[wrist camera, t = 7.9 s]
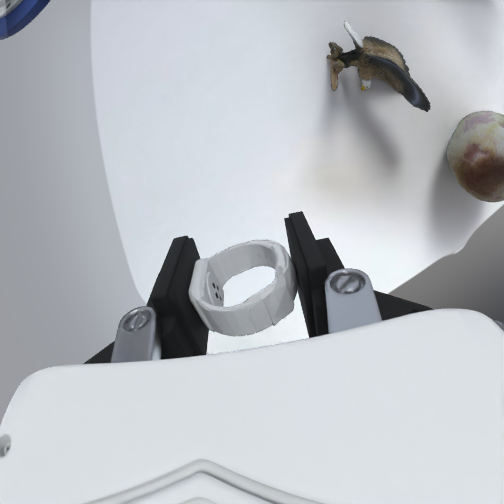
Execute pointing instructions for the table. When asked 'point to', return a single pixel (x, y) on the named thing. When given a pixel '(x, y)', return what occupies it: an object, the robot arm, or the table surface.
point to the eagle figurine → (376, 67)
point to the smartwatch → (254, 308)
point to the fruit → (479, 155)
